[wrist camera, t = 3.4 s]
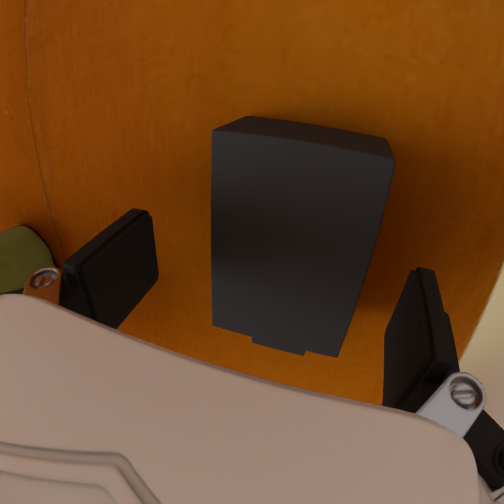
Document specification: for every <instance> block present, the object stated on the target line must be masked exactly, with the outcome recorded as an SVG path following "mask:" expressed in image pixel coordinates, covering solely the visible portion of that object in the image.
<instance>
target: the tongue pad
mask: <svg viewBox="0 0 504 504" xmlns="http://www.w3.org/2000/svg"><path fill="white" fill-rule="evenodd" d="M394 166H395V159H394V156H393V154H392V151H391V149H390V147H389V145H388V142H387V140H386V139H382V138H378V137H374V136H369V135H364V134H360V133H355V132H350V131H345V130H339V129H334V128H328V127H323V126H317V125H311V124H304V123H297V122H291V121H283V120H275V119H267V118H259V117H249V116H246V117H243V118H241V119H238V120H236V121H233V122H231V123H228V124H226V125H223V126H221V127H218V128H216V129H214V130H213V131H212V164H211V271H212V317H213V326H216V327H220V328H223V329H226V330H230V331H233V332H237V333H240V334H244V335H248V336H251V337H252V343H256V344H259V345H263V346H267V347H271V348H275V349H278V350H282V351H286V352H290V353H294V354H298V355H302V356H303V355H304V353H305V350H306V351H310V352H314V353H319V354H323V355H327V356H332V357H337V356H338V354H339V352H340V349H341V346H342V344H343V341H344V338H345V336H346V333H347V330H348V327H349V325H350V322H351V319H352V316H353V313H354V310H355V307H356V304H357V301H358V298H359V295H360V292H361V289H362V286H363V283H364V280H365V277H366V274H367V270H368V267H369V264H370V260H371V257H372V254H373V250H374V247H375V243H376V240H377V236H378V232H379V229H380V225H381V221H382V217H383V213H384V209H385V205H386V201H387V197H388V193H389V189H390V184H391V180H392V176H393V171H394Z"/></svg>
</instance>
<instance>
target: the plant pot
mask: <svg viewBox="0 0 504 504" xmlns="http://www.w3.org/2000/svg"><path fill="white" fill-rule="evenodd" d="M47 266H53V267H55V266H54V264H53V261H52V256H51V253H50V251H49V249H48V247H47V246H46V245H45V243H44V242H43V241H42V240H41V239H40V237H39V236H38V235H37V234H36V233H35V232H33V231H32V230H31V229H29V228H28V227H25V226H16V227H13V228H11V229H8V230H6V231H4V232H2V233H0V294H1V293H5V292H9V291H13V290H17V289H21V288H24V286H25V282H26V280H27V278H28V277H29V275H30V274H31V273H33V272H34V271H36V270H38V269H40V268H43V267H47Z"/></svg>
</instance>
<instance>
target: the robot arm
mask: <svg viewBox="0 0 504 504" xmlns="http://www.w3.org/2000/svg"><path fill="white" fill-rule="evenodd" d="M63 267H64V270H65V271H64V272H63V273H61V271H60V270H59V268H57V267H53V266H47V267H43V268H40V269H38V270H36V271H34V272H33V273H31V274H30V275H29V277H28V278H27V280H26V282H25V286H24V288H21V289H17V290H13V291H9V292H5V293H1V294H0V504H504V430H503V429H502V428H501V427H500V426H499V425H498V424H497V423H496V422H495V421H494V420H493V419H492V418H491V417H490V416H489V415H488V414H487V413H486V412H485V411H484V410H483V408H484V406H485V403H486V392H485V389H484V387H483V385H482V383H481V382H480V381H479V380H478V379H477V378H476V377H474V376H473V375H471V374H469V373H466V372H460V370H459V364H458V358H457V352H456V347H455V342H454V337H453V332H452V328H451V323H450V319H449V316H448V314H447V313H446V312H444V308H443V304H442V299H441V295H440V291H439V288H438V284H437V280H436V276H435V273H434V271H433V270H430V269H425V268H421V267H417V269H416V270H411V271H410V273H409V276H408V278H407V281H406V283H405V286H404V288H403V291H402V293H401V296H400V298H399V301H398V303H397V305H396V308H395V310H394V312H393V315H392V317H391V319H390V321H389V324H388V326H387V328H386V331H385V337H384V383H383V402H382V406H381V405H377V404H372V403H366V402H361V401H356V400H351V399H346V398H342V397H337V396H333V395H328V394H324V393H319V392H315V391H310V390H306V389H302V388H298V387H293V386H289V385H285V384H281V383H277V382H274V381H270V380H266V379H262V378H259V377H255V376H252V375H248V374H244V373H241V372H238V371H234V370H231V369H227V368H224V367H221V366H218V365H214V364H211V363H208V362H205V361H202V360H199V359H196V358H193V357H190V356H187V355H184V354H181V353H178V352H175V351H172V350H169V349H166V348H164V347H161V346H158V345H155V344H153V343H150V342H147V341H144V340H142V339H139V338H137V337H134V336H131V335H129V334H126V333H124V332H121V331H119V330H116V329H117V328H118V327H119V325H120V324H121V323H122V322H123V321H124V319H125V318H126V317H127V316H128V315H129V313H130V312H131V311H132V310H133V309H134V307H135V306H136V305H137V304H138V303H139V302H140V300H141V299H142V298H143V297H144V296H145V294H146V293H147V292H148V291H149V290H150V289H151V287H152V286H153V285H154V284H155V283H156V281H157V279H158V275H159V272H158V265H157V257H156V249H155V240H154V231H153V222H152V217H151V216H150V215H149V213H148V212H147V211H146V210H141V209H135V208H133V209H131V210H130V211H128V212H127V213H126V214H124V215H123V216H122V217H120V218H119V219H118V220H116V221H115V222H114V223H112V224H111V225H110V226H108V227H107V228H106V229H104V230H103V231H102V232H101V233H99V234H98V235H97V236H95V237H94V238H93V239H92V240H90V241H89V242H88V243H87V244H85V245H84V246H83V247H82V248H80V249H79V250H78V251H77V252H75V253H74V254H73V255H72V256H71V257H69V258H68V259H67V260H66V261H65V262H63Z"/></svg>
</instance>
